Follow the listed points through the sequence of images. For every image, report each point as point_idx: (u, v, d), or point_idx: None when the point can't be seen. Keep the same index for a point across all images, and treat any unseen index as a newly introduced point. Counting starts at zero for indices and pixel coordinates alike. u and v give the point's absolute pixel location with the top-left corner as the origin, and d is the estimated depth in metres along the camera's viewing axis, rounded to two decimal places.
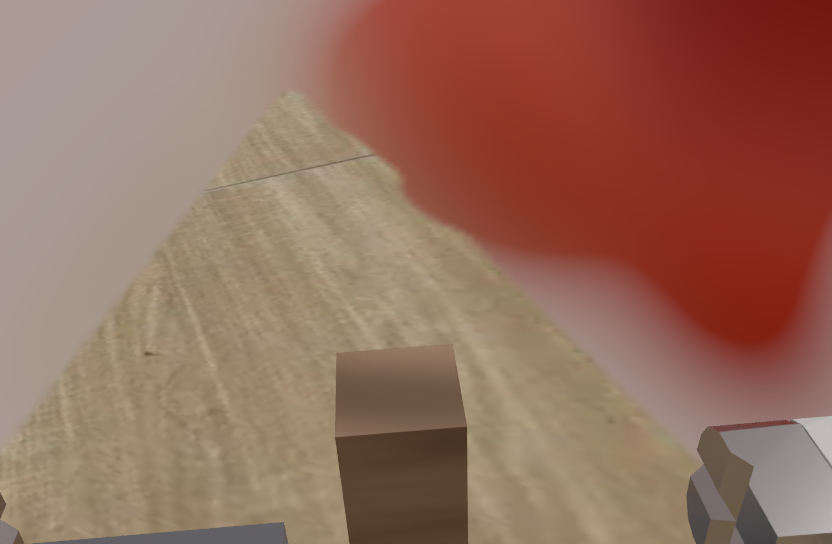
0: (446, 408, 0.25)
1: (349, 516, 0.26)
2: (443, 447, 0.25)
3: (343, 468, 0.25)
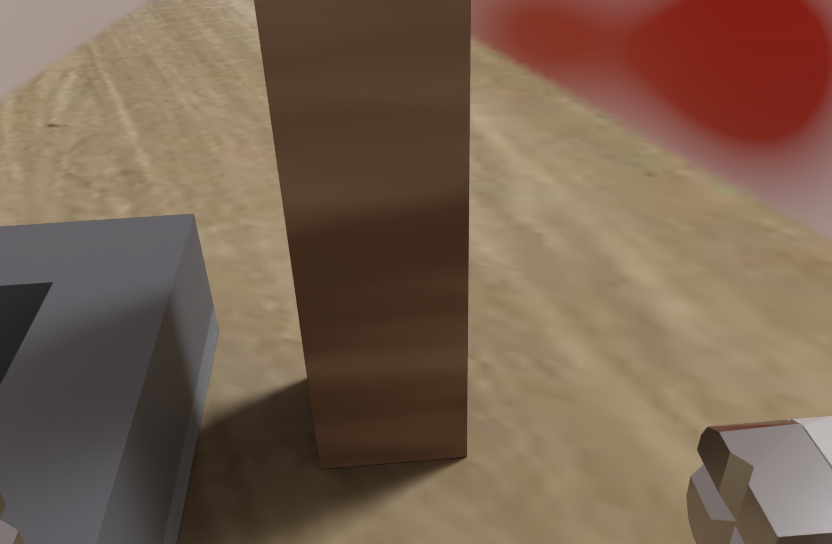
0: None
1: (260, 4, 0.15)
2: None
3: None
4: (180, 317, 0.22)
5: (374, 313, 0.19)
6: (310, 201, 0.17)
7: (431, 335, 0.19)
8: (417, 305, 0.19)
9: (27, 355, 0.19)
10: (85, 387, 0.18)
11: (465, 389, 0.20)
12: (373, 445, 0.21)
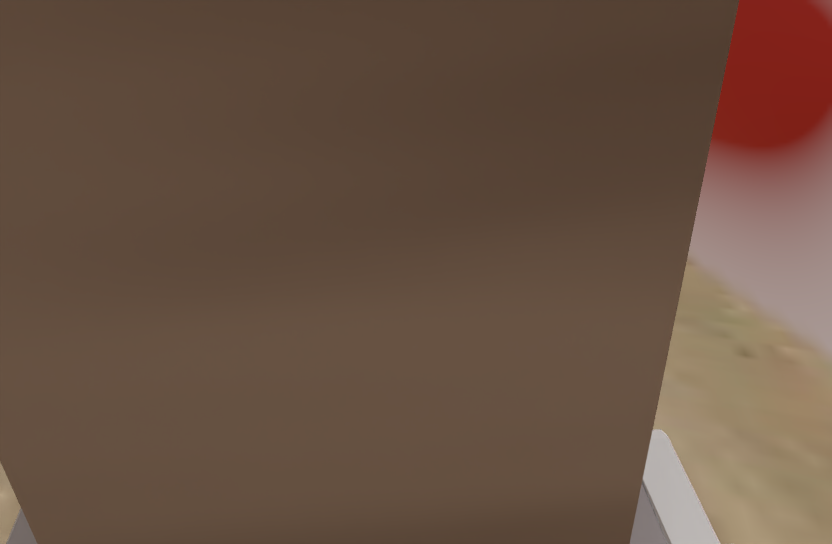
0: None
1: None
2: (567, 138, 0.04)
3: None
4: None
5: None
6: None
7: None
8: None
9: None
10: None
11: None
12: None
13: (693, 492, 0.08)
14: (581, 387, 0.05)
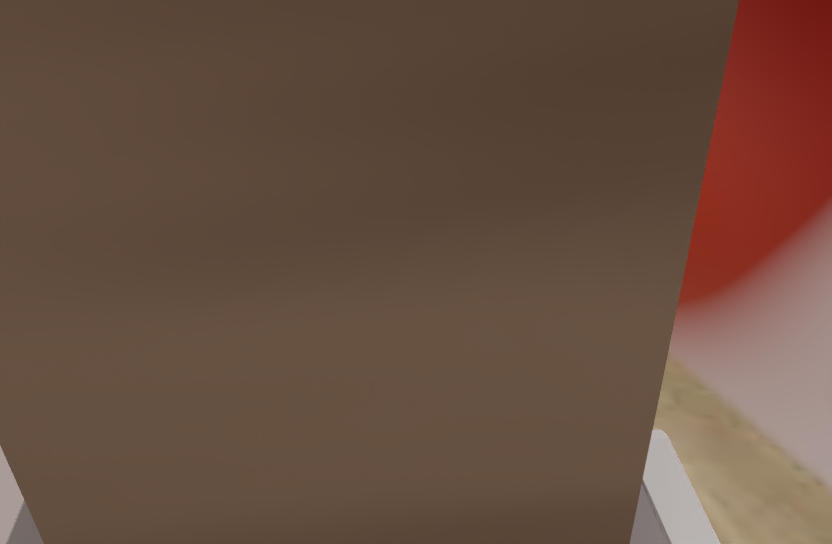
0: None
1: None
2: (568, 133, 0.04)
3: None
4: None
5: None
6: None
7: None
8: None
9: None
10: None
11: None
12: None
13: (693, 492, 0.08)
14: (582, 381, 0.05)
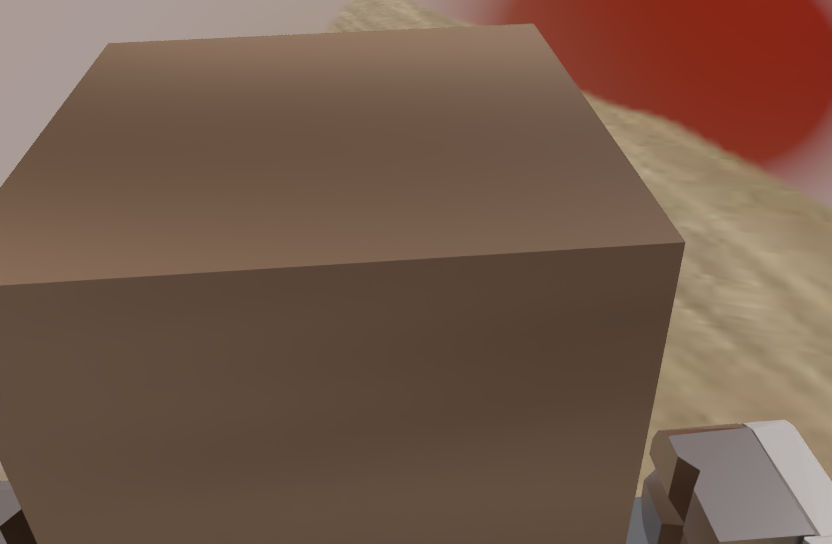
0: (551, 177, 0.05)
1: None
2: (542, 366, 0.05)
3: (26, 473, 0.05)
4: None
5: None
6: None
7: None
8: None
9: None
10: None
11: None
12: None
13: (829, 481, 0.08)
14: (558, 541, 0.06)
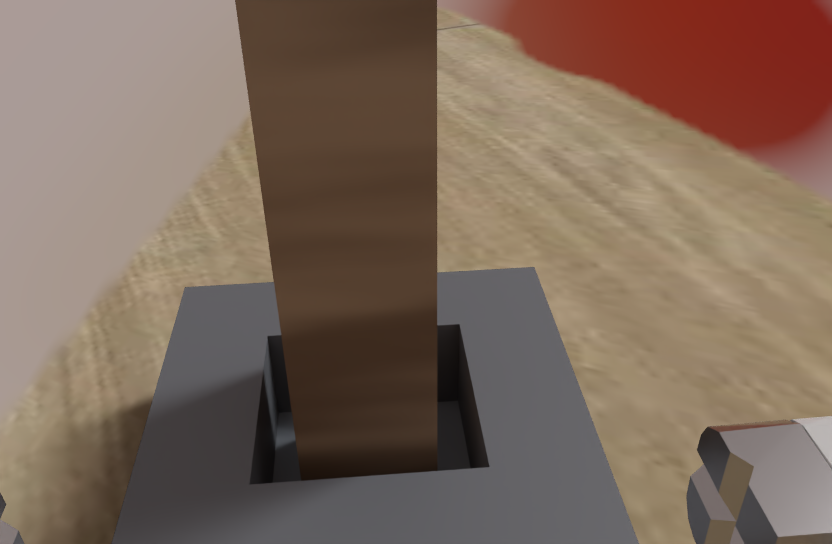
0: None
1: (262, 159, 0.18)
2: (401, 25, 0.16)
3: (249, 58, 0.16)
4: None
5: (355, 399, 0.22)
6: (301, 309, 0.20)
7: (405, 417, 0.22)
8: (393, 393, 0.22)
9: (482, 384, 0.25)
10: (544, 409, 0.24)
11: (435, 461, 0.23)
12: None
13: None
14: (413, 101, 0.17)
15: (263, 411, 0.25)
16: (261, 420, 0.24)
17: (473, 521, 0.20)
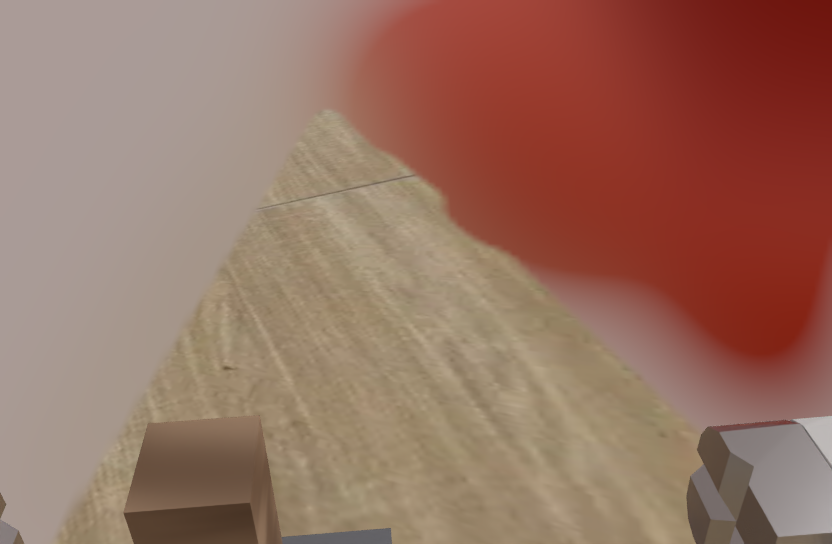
0: (235, 483, 0.26)
1: None
2: (230, 521, 0.26)
3: (136, 540, 0.26)
4: None
5: None
6: None
7: None
8: None
9: None
10: None
11: None
12: None
13: None
14: None
15: None
16: None
17: None
